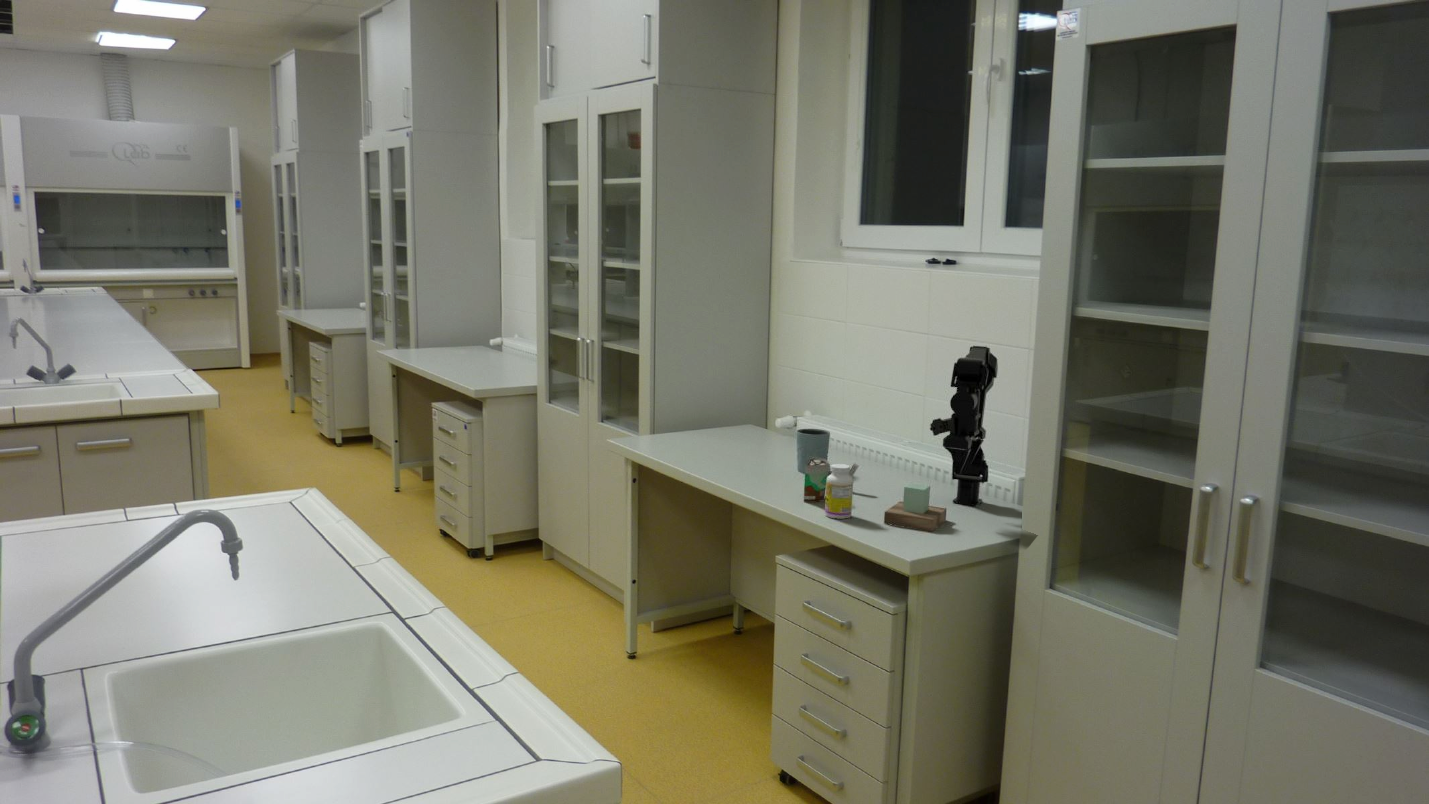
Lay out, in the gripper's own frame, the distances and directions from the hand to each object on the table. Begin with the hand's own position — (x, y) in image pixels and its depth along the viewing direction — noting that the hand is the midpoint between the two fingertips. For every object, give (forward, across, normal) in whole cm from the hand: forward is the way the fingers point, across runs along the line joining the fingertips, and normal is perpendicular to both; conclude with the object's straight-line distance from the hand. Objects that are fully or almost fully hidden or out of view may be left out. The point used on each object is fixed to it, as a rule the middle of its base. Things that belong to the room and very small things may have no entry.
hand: (962, 470), depth 254 cm
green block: (+9, +11, -8) cm, 16 cm away
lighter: (+12, -8, -34) cm, 37 cm away
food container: (+12, +4, -37) cm, 39 cm away
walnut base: (+12, +11, -8) cm, 18 cm away
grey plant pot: (+12, -25, -51) cm, 58 cm away
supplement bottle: (+12, +17, -26) cm, 33 cm away
